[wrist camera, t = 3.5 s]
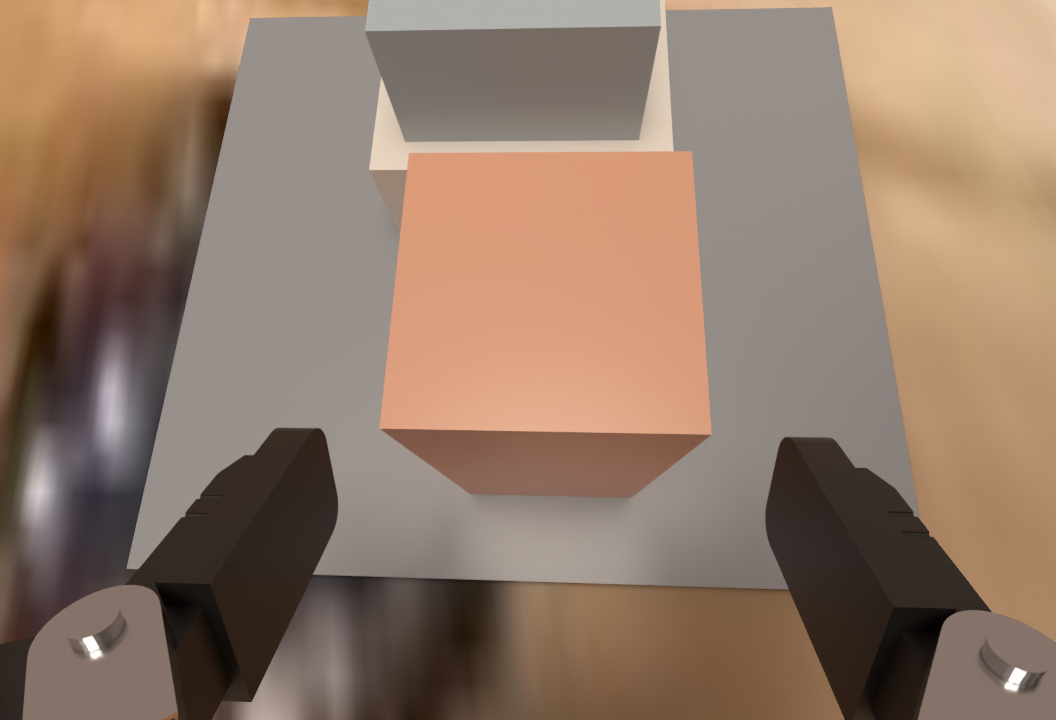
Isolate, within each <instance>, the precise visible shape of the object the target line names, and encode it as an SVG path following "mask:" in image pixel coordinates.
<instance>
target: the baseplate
mask: <svg viewBox="0 0 1056 720" xmlns="http://www.w3.org/2000/svg"><path fill="white" fill-rule="evenodd" d="M665 12H666V30H667V47H668V64H669V82H670V99H671V116H672V134H673V151H692V157H693V171H694V186H695V200H696V215H697V229H698V243H699V258H700V272H701V287H702V301H703V316H704V330H705V345H706V359H707V373H708V388H709V402H710V417H711V431H712V435H711V436H709V437H708V438H707V439H706V440H704V441H703V442H702V443H701V444H699V445H698V446H697V447H695V448H694V449H693V450H692V451H690V452H689V453H688V454H687V455H685V456H684V457H683V458H682V459H680V460H679V461H678V462H676V463H675V464H674V465H673V466H671V467H670V468H669V469H668V470H666V471H665V472H664V473H663V474H661V475H660V476H659V477H657V478H656V479H655V480H654V481H652V482H651V483H650V484H649V485H647V486H646V487H645V488H643V489H642V490H641V491H640V492H638V493H637V494H636V495H635V496H633V497H632V498H616V497H574V496H532V495H491V494H469V493H468V492H467V491H465V490H464V489H462V488H461V487H460V486H458V485H457V484H455V483H454V482H453V481H451V480H450V479H449V478H447V477H446V476H444V475H443V474H442V473H440V472H439V471H437V470H436V469H435V468H433V467H432V466H431V465H429V464H428V463H426V462H425V461H424V460H422V459H421V458H419V457H418V456H417V455H415V454H414V453H412V452H411V451H410V450H408V449H407V448H406V447H404V446H403V445H401V444H400V443H399V442H397V441H396V440H394V439H393V438H392V437H390V436H389V435H388V434H386V433H385V432H383V431H382V430H381V429H379V427H380V418H381V408H382V399H383V390H384V381H385V371H386V362H387V353H388V343H389V334H390V325H391V315H392V306H393V297H394V287H395V278H396V269H397V259H398V250H399V241H400V233H399V231H398V229H397V227H396V225H395V223H394V221H393V218H392V216H391V214H390V212H389V210H388V208H387V206H386V204H385V202H384V200H383V198H382V196H381V194H380V192H379V190H378V188H377V186H376V184H375V181H374V179H373V177H372V175H371V173H370V171H369V166H370V159H371V151H372V143H373V136H374V128H375V120H376V113H377V105H378V97H379V90H380V82H381V74H380V72H379V69H378V66H377V63H376V61H375V58H374V55H373V52H372V50H371V47H370V44H369V41H368V39H367V36H366V33H365V26H366V19H367V16H345V17H291V18H250V22H249V27H248V31H247V36H246V40H245V44H244V49H243V53H242V58H241V62H240V67H239V71H238V76H237V80H236V84H235V89H234V93H233V98H232V102H231V107H230V111H229V116H228V120H227V124H226V129H225V133H224V138H223V142H222V147H221V151H220V156H219V160H218V165H217V169H216V173H215V178H214V182H213V187H212V191H211V196H210V200H209V205H208V209H207V213H206V218H205V222H204V227H203V231H202V236H201V240H200V245H199V249H198V253H197V258H196V262H195V267H194V271H193V276H192V280H191V285H190V289H189V294H188V298H187V302H186V307H185V311H184V316H183V320H182V325H181V329H180V334H179V338H178V342H177V347H176V351H175V356H174V360H173V365H172V369H171V374H170V378H169V382H168V387H167V391H166V396H165V400H164V405H163V409H162V414H161V418H160V422H159V427H158V431H157V436H156V440H155V445H154V449H153V454H152V458H151V463H150V467H149V471H148V476H147V480H146V485H145V489H144V494H143V498H142V503H141V507H140V511H139V516H138V520H137V525H136V529H135V534H134V538H133V543H132V547H131V551H130V556H129V560H128V565H127V569H139V568H140V567H141V565H142V564H143V563H144V562H145V560H146V559H147V558H148V557H149V556H150V554H151V553H152V552H153V551H154V550H155V548H156V547H157V546H158V545H159V544H160V542H161V541H162V540H163V539H164V538H165V536H166V535H167V534H168V533H169V532H170V530H171V529H172V528H173V527H174V526H175V524H176V523H177V522H178V521H179V520H180V518H181V517H185V512H186V511H187V510H188V509H189V507H190V506H191V505H192V504H193V503H194V501H195V500H196V499H200V494H201V493H202V492H203V491H204V489H205V488H206V487H207V486H208V485H209V483H210V482H211V481H212V480H213V479H214V477H215V476H216V475H217V474H218V473H219V472H220V471H222V470H223V469H225V468H226V467H228V466H229V465H231V464H232V463H234V462H235V461H237V460H238V459H240V458H241V457H243V456H244V455H254V454H255V453H256V451H257V450H258V449H259V448H260V446H261V445H262V444H263V442H264V441H265V440H266V439H267V437H268V436H269V435H270V433H271V432H272V431H273V430H274V429H276V428H320V429H321V430H322V431H323V432H324V434H325V436H326V440H327V445H328V450H329V455H330V460H331V465H332V470H333V475H334V480H335V485H336V490H337V495H338V516H337V522H336V526H335V529H334V532H333V534H332V536H331V538H330V540H329V542H328V544H327V546H326V548H325V550H324V553H323V555H322V557H321V559H320V561H319V563H318V565H317V567H316V569H315V571H314V573H313V575H343V576H375V577H406V578H438V579H470V580H502V581H533V582H565V583H597V584H628V585H660V586H692V587H724V588H755V589H787V590H789V588H788V586H787V584H786V581H785V579H784V577H783V574H782V572H781V570H780V567H779V565H778V563H777V561H776V558H775V556H774V554H773V551H772V549H771V547H770V544H769V541H768V537H767V532H766V525H765V511H766V504H767V500H768V495H769V490H770V485H771V481H772V476H773V471H774V467H775V462H776V457H777V452H778V448H779V445H780V442H781V441H782V439H783V438H785V437H826V438H833V439H834V440H835V441H836V442H837V443H838V444H839V446H840V447H841V448H842V450H843V451H844V453H845V454H846V455H847V457H848V458H849V460H850V461H851V462H852V464H853V465H854V467H855V468H868V469H869V470H870V471H872V472H873V473H875V474H876V475H877V476H879V477H880V478H882V479H883V480H884V481H886V482H887V483H889V484H890V485H891V486H893V487H894V488H895V489H896V490H897V491H898V492H899V494H900V495H901V496H902V498H903V499H904V500H905V501H906V503H907V504H908V505H909V507H910V508H911V509H912V510H913V512H914V513H913V514H914V517H918V518H919V512H918V507H917V501H916V495H915V489H914V483H913V477H912V472H911V466H910V460H909V454H908V448H907V442H906V437H905V431H904V425H903V419H902V413H901V408H900V402H899V396H898V390H897V384H896V378H895V373H894V367H893V361H892V355H891V349H890V344H889V338H888V332H887V326H886V320H885V314H884V309H883V303H882V297H881V291H880V285H879V279H878V274H877V268H876V262H875V256H874V250H873V245H872V239H871V233H870V227H869V221H868V215H867V210H866V204H865V198H864V192H863V186H862V180H861V175H860V169H859V163H858V157H857V151H856V146H855V140H854V134H853V128H852V122H851V116H850V111H849V105H848V99H847V93H846V87H845V81H844V76H843V70H842V64H841V58H840V52H839V47H838V41H837V35H836V29H835V23H834V17H833V12H832V7H827V8H774V9H720V10H667V11H665ZM919 519H920V518H919Z"/></svg>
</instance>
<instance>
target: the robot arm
mask: <svg viewBox="0 0 1056 720" xmlns="http://www.w3.org/2000/svg"><path fill="white" fill-rule="evenodd" d="M913 513H914V512H913V510H912V509H911V508H910V507H909V505H908V504H907V503H906V501H905V500H904V499H903V498H902V496H901V495H900V494H899V492H898V491H897V490H896V489H895V488H894V487H893V486H891V485H890V484H889V483H887V482H886V481H884V480H883V479H882V478H880V477H879V476H877V475H876V474H875V473H873V472H872V471H870V470H869V469H868V468H855V467H854V465H853V464H852V462H851V461H850V460H849V458H848V457H847V455H846V454H845V453H844V451H843V450H842V448H841V447H840V446H839V444H838V443H837V442H836V441H835V440H834V439H833V438H826V437H785V438H783V439H782V441H781V442H780V445H779V448H778V452H777V457H776V462H775V467H774V471H773V476H772V481H771V485H770V490H769V495H768V500H767V504H766V511H765V525H766V532H767V537H768V541H769V544H770V547H771V549H772V551H773V554H774V556H775V558H776V561H777V563H778V565H779V567H780V570H781V572H782V574H783V577H784V579H785V581H786V584H787V586H788V588H789V591H790V593H791V595H792V598H793V600H794V602H795V605H796V607H797V609H798V612H799V614H800V616H801V619H802V621H803V623H804V626H805V628H806V630H807V633H808V635H809V637H810V640H811V642H812V644H813V647H814V649H815V651H816V653H817V656H818V658H819V660H820V663H821V665H822V667H823V670H824V672H825V674H826V677H827V679H828V681H829V684H830V686H831V688H832V691H833V693H834V695H835V698H836V700H837V702H838V705H839V707H840V709H841V712H842V714H843V716H844V719H845V720H1056V643H1055V642H1053V641H1052V640H1050V639H1049V638H1048V637H1046V636H1045V635H1043V634H1042V633H1040V632H1038V631H1037V630H1035V629H1033V628H1031V627H1030V626H1028V625H1026V624H1023V623H1021V622H1019V621H1017V620H1014V619H1012V618H1009V617H1007V616H1003V615H1000V614H996V613H992V612H991V610H990V609H989V608H988V607H987V605H986V604H985V603H984V601H983V600H982V599H981V598H980V596H979V595H978V594H977V592H976V591H975V590H974V589H973V587H972V586H971V585H970V583H969V582H968V581H967V580H966V578H965V577H964V576H963V574H962V573H961V572H960V571H959V569H958V568H957V567H956V565H955V564H954V563H953V562H952V560H951V559H950V558H949V557H948V555H947V554H946V553H945V551H944V550H943V549H942V548H941V546H940V545H939V544H938V542H937V541H936V540H935V539H934V537H930V536H929V531H928V530H927V528H926V527H925V526H924V524H923V523H922V522H921V521H920V519H919V518H918V517H914V514H913ZM337 516H338V495H337V490H336V485H335V480H334V475H333V470H332V465H331V460H330V455H329V450H328V445H327V440H326V436H325V434H324V432H323V431H322V430H321V429H320V428H276V429H274V430H273V431H272V432H271V433H270V435H269V436H268V437H267V439H266V440H265V441H264V442H263V444H262V445H261V446H260V448H259V449H258V450H257V451H256V453H255V454H254V455H244V456H243V457H241V458H240V459H238V460H237V461H235V462H234V463H232V464H231V465H229V466H228V467H226V468H225V469H223V470H222V471H220V472H219V473H218V474H217V475H216V476H215V477H214V479H213V480H212V481H211V482H210V483H209V485H208V486H207V487H206V488H205V489H204V491H203V492H202V493H201V494H200V499H196V500H195V501H194V503H193V504H192V505H191V506H190V507H189V509H188V510H187V511H186V512H185V517H181V518H180V520H179V521H178V522H177V523H176V524H175V526H174V527H173V528H172V529H171V530H170V532H169V533H168V534H167V535H166V536H165V538H164V539H163V540H162V541H161V542H160V544H159V545H158V546H157V547H156V548H155V550H154V551H153V552H152V553H151V554H150V556H149V557H148V558H147V559H146V560H145V562H144V563H143V564H142V565H141V567H140V568H139V569H138V570H137V571H136V573H135V574H134V575H133V576H132V577H131V579H130V580H129V581H128V582H127V583H126V585H123V586H116V587H111V588H107V589H104V590H101V591H98V592H95V593H93V594H90V595H88V596H86V597H84V598H82V599H80V600H78V601H76V602H74V603H73V604H71V605H70V606H68V607H67V608H65V609H63V610H62V611H61V612H60V613H58V614H57V615H56V616H54V617H53V618H52V619H51V620H50V621H49V622H48V623H47V624H46V625H45V626H44V627H43V628H42V629H41V630H40V632H39V633H38V634H37V636H36V637H32V638H27V639H23V640H19V641H14V642H10V643H5V644H1V645H0V720H212V718H213V716H214V714H215V712H216V710H217V709H218V707H219V705H220V703H221V701H239V702H252V700H253V698H254V696H255V694H256V692H257V689H258V687H259V685H260V683H261V681H262V679H263V677H264V675H265V673H266V671H267V669H268V667H269V665H270V662H271V660H272V658H273V656H274V654H275V652H276V650H277V648H278V646H279V644H280V642H281V640H282V638H283V636H284V633H285V631H286V629H287V627H288V625H289V623H290V621H291V619H292V617H293V615H294V613H295V611H296V609H297V606H298V604H299V602H300V600H301V598H302V596H303V594H304V592H305V590H306V588H307V586H308V584H309V582H310V579H311V577H312V575H313V573H314V571H315V569H316V567H317V565H318V563H319V561H320V559H321V557H322V555H323V553H324V550H325V548H326V546H327V544H328V542H329V540H330V538H331V536H332V534H333V532H334V529H335V526H336V522H337Z"/></svg>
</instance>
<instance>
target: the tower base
mask: <svg viewBox="0 0 1056 720" xmlns="http://www.w3.org/2000/svg"><path fill="white" fill-rule="evenodd" d="M365 33H366V36H367V39H368V41H369V44H370V47H371V50H372V52H373V55H374V58H375V61H376V63H377V66H378V69H379V72H380V74H381V82H380V90H379V97H378V105H377V113H376V120H375V128H374V136H373V143H372V151H371V159H370V166H369V171H370V173H371V175H372V177H373V179H374V181H375V184H376V186H377V188H378V190H379V192H380V194H381V196H382V198H383V200H384V202H385V204H386V206H387V208H388V210H389V212H390V214H391V216H392V218H393V221H394V223H395V225H396V227H397V229H398V231H399V233H400V231H401V222H402V213H403V203H404V194H405V185H406V175H407V166H408V157H409V153H494V152H651V151H673V134H672V116H671V99H670V82H669V64H668V47H667V30H666V12H665V0H369V5H368V12H367V19H366V26H365Z"/></svg>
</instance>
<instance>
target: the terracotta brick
mask: <svg viewBox="0 0 1056 720" xmlns="http://www.w3.org/2000/svg"><path fill="white" fill-rule="evenodd" d="M379 429H381V430H382V431H383V432H385V433H386V434H388V435H389V436H390V437H392V438H393V439H394V440H396V441H397V442H399V443H400V444H401V445H403V446H404V447H406V448H407V449H408V450H410V451H411V452H412V453H414V454H415V455H417V456H418V457H419V458H421V459H422V460H424V461H425V462H426V463H428V464H429V465H431V466H432V467H433V468H435V469H436V470H437V471H439V472H440V473H442V474H443V475H444V476H446V477H447V478H449V479H450V480H451V481H453V482H454V483H455V484H457V485H458V486H460V487H461V488H462V489H464V490H465V491H467V492H468V493H469V494H491V495H532V496H574V497H616V498H632V497H633V496H635V495H636V494H637V493H638V492H640V491H641V490H642V489H643V488H645V487H646V486H647V485H649V484H650V483H651V482H652V481H654V480H655V479H656V478H657V477H659V476H660V475H661V474H663V473H664V472H665V471H666V470H668V469H669V468H670V467H671V466H673V465H674V464H675V463H676V462H678V461H679V460H680V459H682V458H683V457H684V456H685V455H687V454H688V453H689V452H690V451H692V450H693V449H694V448H695V447H697V446H698V445H699V444H701V443H702V442H703V441H704V440H706V439H707V438H708V437H709V436H711V435H712V431H711V417H710V402H709V388H708V373H707V359H706V345H705V330H704V316H703V301H702V287H701V272H700V258H699V243H698V229H697V215H696V200H695V186H694V171H693V157H692V151H651V152H494V153H409V157H408V166H407V175H406V185H405V194H404V203H403V213H402V222H401V231H400V241H399V250H398V259H397V269H396V278H395V287H394V297H393V306H392V315H391V325H390V334H389V343H388V353H387V362H386V371H385V381H384V390H383V399H382V408H381V418H380V427H379Z"/></svg>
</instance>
